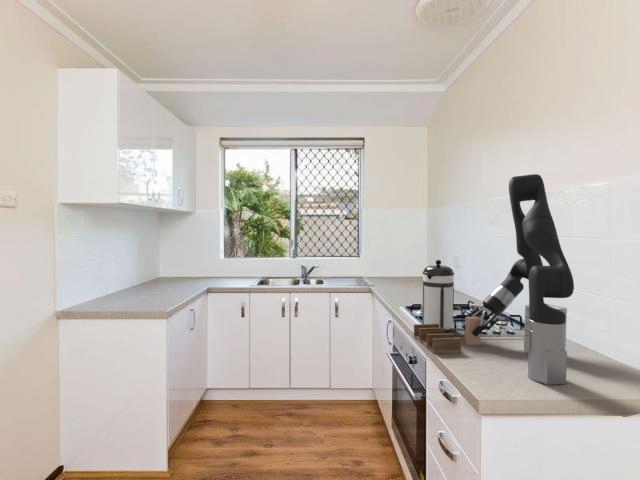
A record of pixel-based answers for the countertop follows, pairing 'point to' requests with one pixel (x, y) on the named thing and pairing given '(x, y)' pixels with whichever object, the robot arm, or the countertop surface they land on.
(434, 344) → the drying rack
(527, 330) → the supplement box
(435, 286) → the coffee press
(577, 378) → the countertop surface
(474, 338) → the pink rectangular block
